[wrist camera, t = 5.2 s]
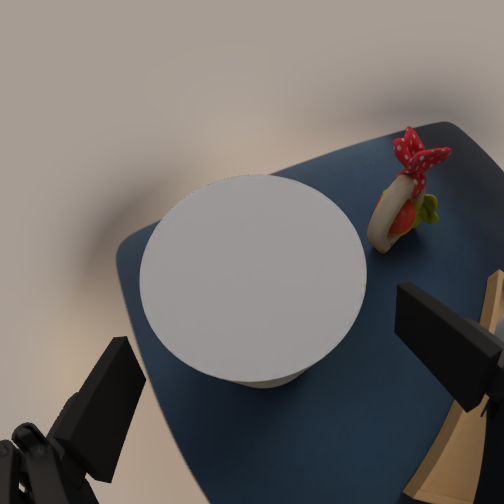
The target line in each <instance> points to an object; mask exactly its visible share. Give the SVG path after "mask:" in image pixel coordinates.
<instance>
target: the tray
mask: <svg viewBox="0 0 504 504" xmlns="http://www.w3.org/2000/svg"><path fill="white" fill-rule="evenodd" d="M503 314H504V272H502V271H501V270H500V269H499V270H497V271H496V272H495V273H494V274H492V275H491V276H490V277H489V278H488V281H487V288H486V294H485V299H484V304H483V309H482V314H481V318H480V323H479V324H480V325H481V326H482V327H484V328H486V329H487V330H488V332H491V333H492V334H494V332H495V328H496V324H497V322H498V320H499V318H500V317H501V316H502V315H503ZM488 399H489V397H488V396H487V395H486V394H485V395H484V397H483V399H482V401H481V403H480V405H479V406H477V407H476V408H474V409H473V410H471V411H470V412H468V413H466V412H465V411H464V409H463V408H462V407H461V406H460V405H459V404H458V402H457V401H456V400H455V399H454V402H453V404H452V406H451V408H450V411H449V413H448V415H447V417H446V419H445V421H444V423H443V425H442V427H441V429H440V431H439V433H438V435H437V437H436V439H435V441H434V443H433V444H432V446H431V448H430V450H429V451H428V453H427V455H426V457H425V458H424V460H423V462H422V463H421V465H420V466H419V468H418V470H417V471H416V473H415V474H414V476H413V477H412V479H411V480H410V482H409V483H408V484H407V486H406V487H405V489H404V490H403V491H402V492H403V493H405V494H406V495H408V496H410V497H411V498H413V499H416V500H420V501H424V502H428V503H433V504H473V501H474V498H475V494H476V489H477V485H478V480H479V475H480V470H481V464H482V457H483V450H484V441H485V430H486V412H487V410H486V412H485V413H484V415H483V417H480V416H481V413H482V411H483V409H484V407H485V405H486V403H487V401H488Z"/></svg>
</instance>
